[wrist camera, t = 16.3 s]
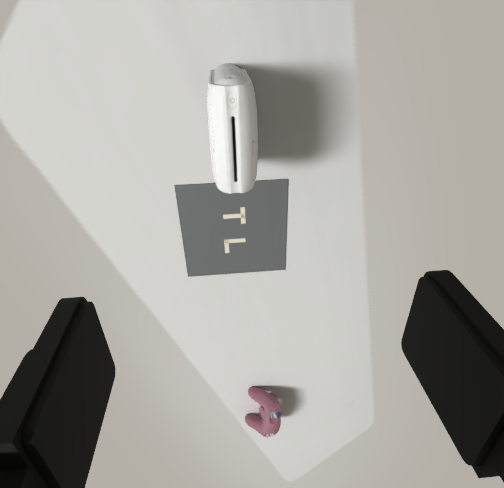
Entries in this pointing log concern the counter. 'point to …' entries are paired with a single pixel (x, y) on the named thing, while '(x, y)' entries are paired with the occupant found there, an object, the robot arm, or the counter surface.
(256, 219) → the dark gray panel
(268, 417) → the video game controller
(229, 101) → the photo printer
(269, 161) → the counter surface
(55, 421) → the robot arm
